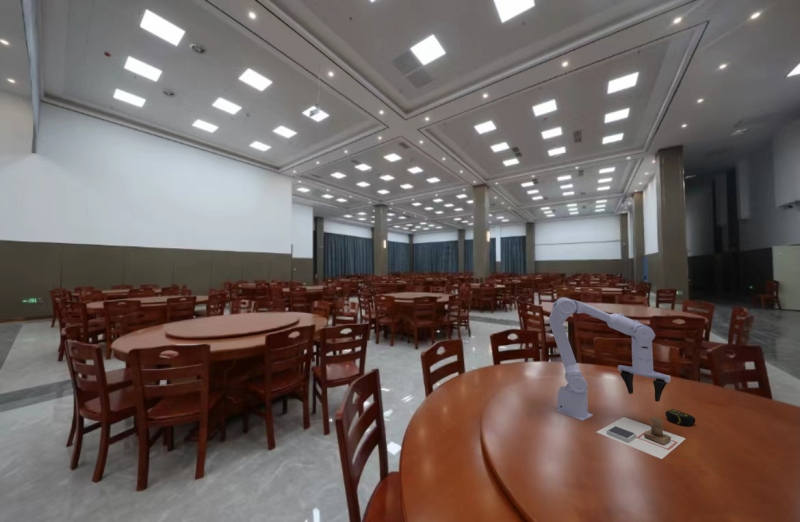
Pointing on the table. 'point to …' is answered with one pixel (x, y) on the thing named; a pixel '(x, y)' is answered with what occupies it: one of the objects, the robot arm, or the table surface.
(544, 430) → the table surface
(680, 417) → the tape measure
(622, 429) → the stamping mat
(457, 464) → the table surface
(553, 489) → the table surface
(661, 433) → the stamp
